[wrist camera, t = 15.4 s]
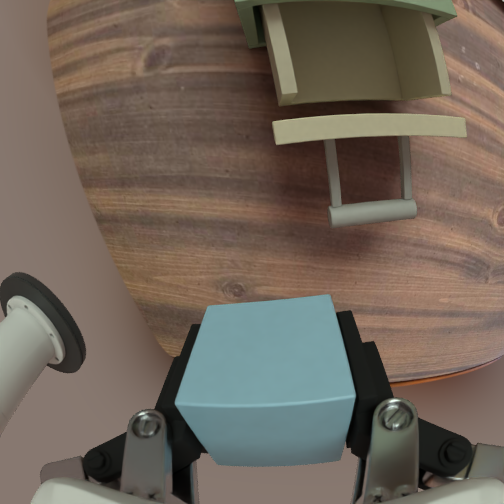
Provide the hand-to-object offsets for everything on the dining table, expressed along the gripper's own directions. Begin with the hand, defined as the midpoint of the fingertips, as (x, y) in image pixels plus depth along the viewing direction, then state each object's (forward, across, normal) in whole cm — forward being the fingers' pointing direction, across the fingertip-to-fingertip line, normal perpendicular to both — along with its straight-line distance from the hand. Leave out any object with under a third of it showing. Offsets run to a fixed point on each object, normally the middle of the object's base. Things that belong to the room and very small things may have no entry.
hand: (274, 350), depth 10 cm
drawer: (+13, -7, -11) cm, 18 cm away
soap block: (0, 0, 0) cm, 0 cm away
